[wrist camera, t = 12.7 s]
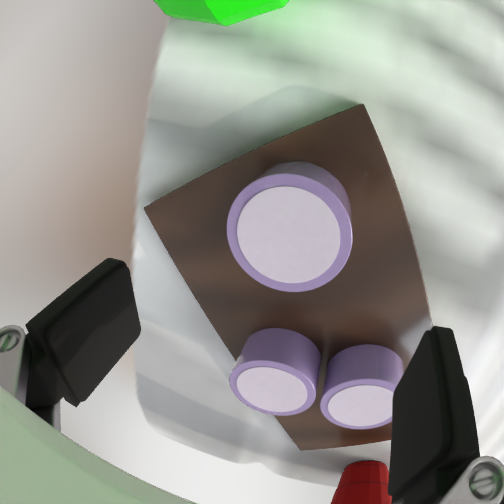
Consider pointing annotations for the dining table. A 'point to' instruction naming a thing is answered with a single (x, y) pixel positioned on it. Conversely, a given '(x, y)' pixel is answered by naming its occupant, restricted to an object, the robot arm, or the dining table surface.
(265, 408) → the lavender cylinder puck
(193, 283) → the board
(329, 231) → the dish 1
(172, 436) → the dining table surface
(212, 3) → the plastic bottle
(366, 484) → the plastic cup
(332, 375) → the lavender round puck
